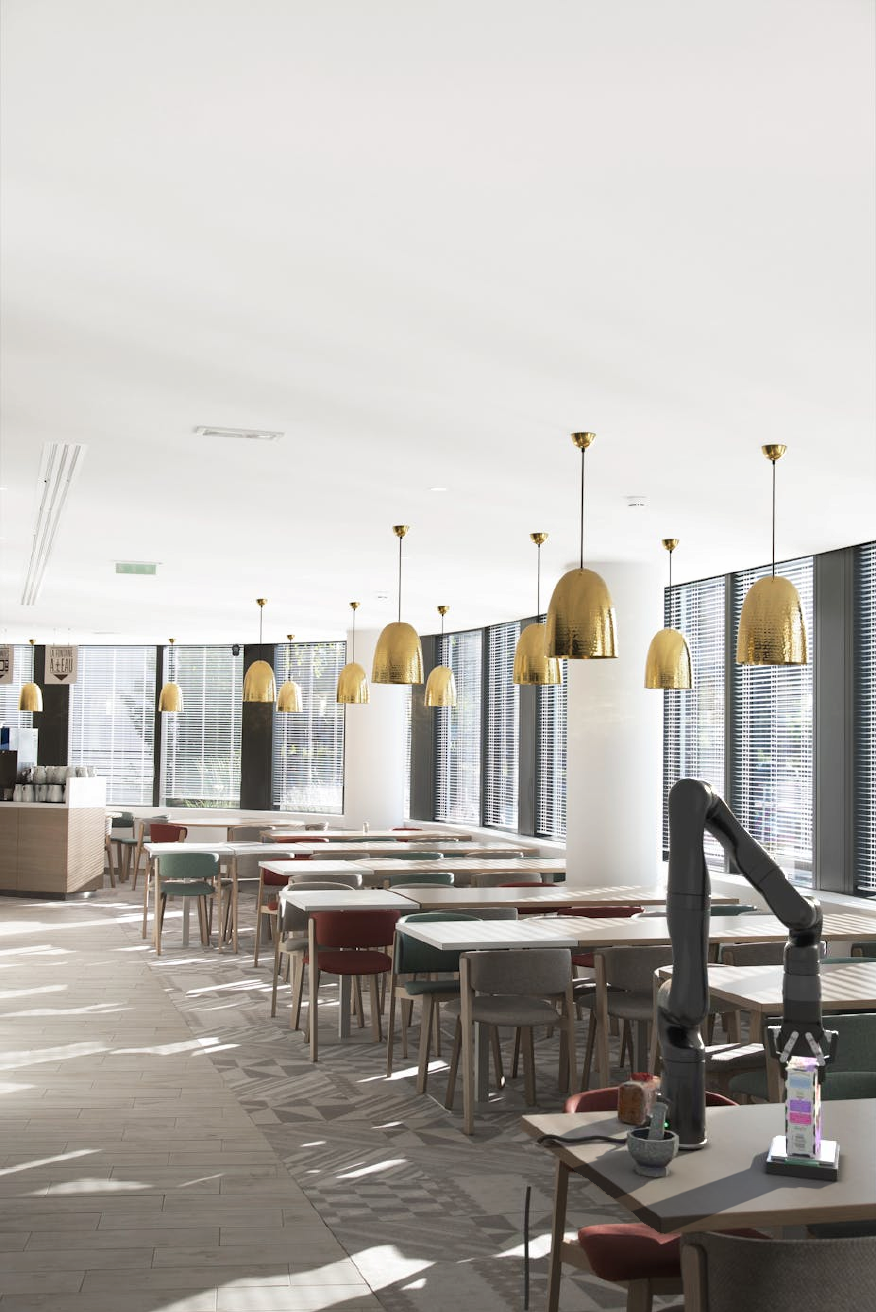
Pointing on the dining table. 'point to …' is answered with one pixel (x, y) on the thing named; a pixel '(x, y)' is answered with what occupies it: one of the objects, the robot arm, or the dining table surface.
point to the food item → (637, 1098)
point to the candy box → (802, 1107)
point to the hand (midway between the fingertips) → (803, 1082)
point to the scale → (804, 1161)
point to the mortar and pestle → (653, 1145)
